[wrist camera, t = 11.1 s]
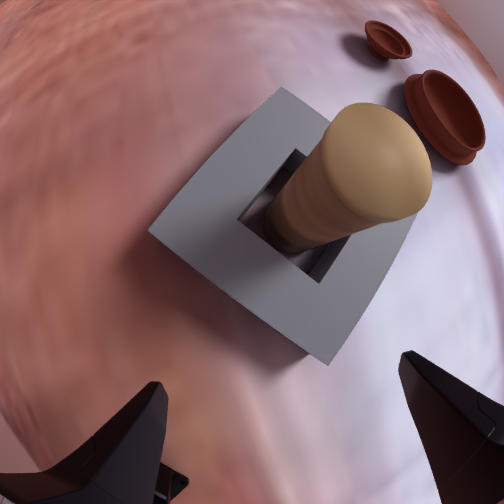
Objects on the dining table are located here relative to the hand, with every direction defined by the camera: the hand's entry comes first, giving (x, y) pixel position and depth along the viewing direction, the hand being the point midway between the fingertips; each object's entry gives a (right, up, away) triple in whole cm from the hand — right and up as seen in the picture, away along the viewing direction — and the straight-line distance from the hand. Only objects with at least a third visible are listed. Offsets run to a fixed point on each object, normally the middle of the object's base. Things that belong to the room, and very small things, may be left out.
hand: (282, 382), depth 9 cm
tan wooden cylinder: (+2, +7, +12) cm, 14 cm away
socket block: (+2, +7, +12) cm, 14 cm away
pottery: (+18, +23, +17) cm, 33 cm away
